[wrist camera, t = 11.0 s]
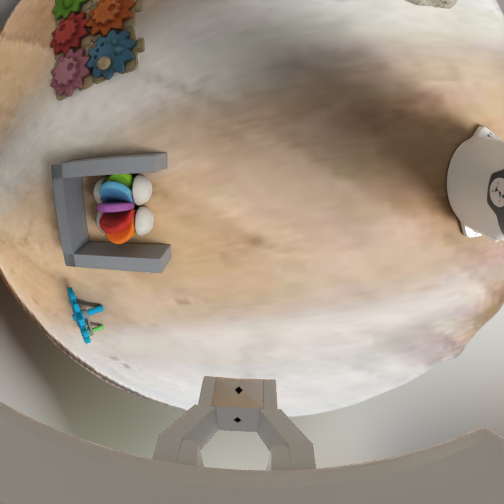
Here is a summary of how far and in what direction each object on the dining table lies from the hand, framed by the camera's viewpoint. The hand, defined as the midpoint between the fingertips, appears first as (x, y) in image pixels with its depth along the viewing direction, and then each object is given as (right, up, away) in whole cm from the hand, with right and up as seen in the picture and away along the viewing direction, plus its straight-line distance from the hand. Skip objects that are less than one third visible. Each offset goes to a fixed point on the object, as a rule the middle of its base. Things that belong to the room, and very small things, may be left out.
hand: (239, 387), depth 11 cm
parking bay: (-18, +12, +27) cm, 35 cm away
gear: (-29, -4, +34) cm, 45 cm away
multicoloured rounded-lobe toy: (-17, +13, +27) cm, 34 cm away
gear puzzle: (-23, +44, +15) cm, 52 cm away
